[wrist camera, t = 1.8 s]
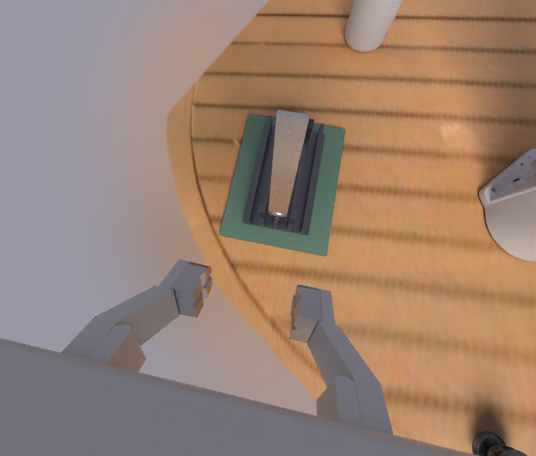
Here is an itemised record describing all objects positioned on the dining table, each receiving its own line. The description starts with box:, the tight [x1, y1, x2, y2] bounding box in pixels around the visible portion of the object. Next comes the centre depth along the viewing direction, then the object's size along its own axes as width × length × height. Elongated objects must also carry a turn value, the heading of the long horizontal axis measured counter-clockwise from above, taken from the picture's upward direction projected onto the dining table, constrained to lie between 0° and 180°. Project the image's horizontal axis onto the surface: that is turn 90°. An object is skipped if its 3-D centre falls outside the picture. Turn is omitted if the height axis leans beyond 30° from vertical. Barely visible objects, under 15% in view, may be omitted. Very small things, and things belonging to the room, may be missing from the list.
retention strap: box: [268, 110, 309, 218], centre depth 26 cm, size 17×3×1 cm
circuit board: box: [219, 114, 345, 256], centre depth 39 cm, size 26×20×1 cm
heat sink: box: [243, 116, 325, 236], centre depth 35 cm, size 20×12×6 cm, turn 168°
